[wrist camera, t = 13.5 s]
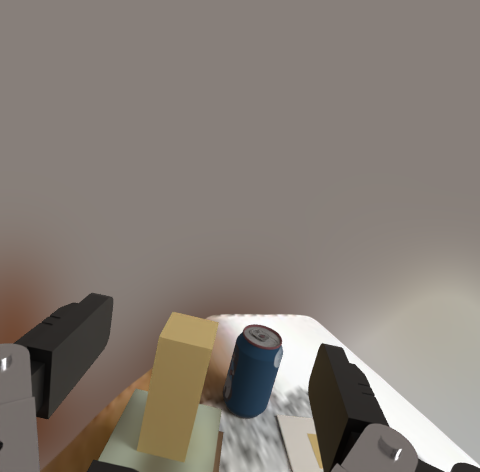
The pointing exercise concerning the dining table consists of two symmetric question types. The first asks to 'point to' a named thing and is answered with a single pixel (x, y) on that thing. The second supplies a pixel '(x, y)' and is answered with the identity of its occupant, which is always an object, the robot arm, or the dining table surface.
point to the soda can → (252, 371)
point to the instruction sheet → (300, 443)
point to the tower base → (158, 468)
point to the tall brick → (176, 386)
